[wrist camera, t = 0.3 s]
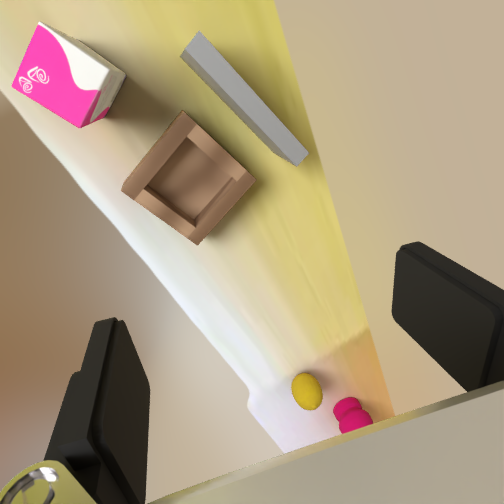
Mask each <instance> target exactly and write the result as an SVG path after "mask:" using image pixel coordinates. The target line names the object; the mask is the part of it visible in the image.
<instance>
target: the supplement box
mask: <svg viewBox="0 0 504 504" xmlns="http://www.w3.org/2000/svg"><path fill="white" fill-rule="evenodd" d="M125 78H126V74H125V73H124V72H122V71H121V70H119V69H118V68H117V67H115V66H114V65H113V64H111V63H110V62H108V61H107V60H106V59H104V58H103V57H101V56H100V55H99V54H97V53H96V52H94V51H93V50H92V49H90V48H89V47H87V46H86V45H85V44H83V43H82V42H80V41H79V40H77V39H75V38H73V37H70V36H68V35H67V34H65V33H62V32H60V31H58V30H56V29H54V28H52V27H51V26H49V25H47V24H44V23H42V22H39V23H38V26H37V28H36V30H35V32H34V34H33V37H32V39H31V42H30V44H29V46H28V48H27V51H26V53H25V56H24V58H23V60H22V63H21V65H20V67H19V70H18V72H17V74H16V77H15V79H14V81H13V84H12V87H13V88H14V89H16V90H17V91H19V92H21V93H22V94H24V95H26V96H27V97H29V98H31V99H32V100H34V101H36V102H37V103H39V104H40V105H42V106H44V107H45V108H47V109H49V110H50V111H52V112H53V113H55V114H57V115H58V116H60V117H62V118H63V119H65V120H66V121H68V122H70V123H71V124H73V125H75V126H76V127H78V128H82V127H84V126H86V125H89V124H91V123H93V122H95V121H97V120H99V119H102V118H104V117H105V116H106V114H107V112H108V110H109V109H110V107H111V105H112V103H113V101H114V99H115V97H116V95H117V94H118V92H119V90H120V88H121V86H122V84H123V82H124V80H125Z"/></svg>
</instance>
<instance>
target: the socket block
mask: <svg viewBox="0 0 504 504" xmlns="http://www.w3.org/2000/svg"><path fill="white" fill-rule="evenodd" d="M255 181H256V179H255V178H254V177H253V176H252V175H251V174H250V173H249V172H248V171H247V170H246V169H245V168H244V167H243V166H242V165H241V164H239V163H238V162H237V161H236V160H235V159H234V158H233V157H232V156H231V155H230V154H229V153H228V152H227V151H226V150H225V149H223V148H222V147H221V146H220V145H219V144H218V143H217V142H216V141H215V140H214V139H213V138H212V137H211V136H210V135H209V134H207V133H206V132H205V131H204V130H203V129H202V128H201V127H200V126H199V125H198V124H197V123H196V122H195V121H194V120H193V119H191V118H190V117H189V116H188V115H187V114H186V113H185V112H184V111H183V110H182V111H181V112H180V113H179V115H178V116H177V117H176V118H175V120H174V121H173V122H172V123H171V124H170V126H169V127H168V128H167V129H166V131H165V132H164V133H163V134H162V136H161V137H160V138H159V139H158V141H157V142H156V143H155V144H154V146H153V147H152V148H151V149H150V150H149V152H148V153H147V154H146V155H145V157H144V158H143V159H142V160H141V162H140V163H139V164H138V165H137V167H136V168H135V169H134V170H133V172H132V173H131V174H130V175H129V177H128V178H127V179H126V180H125V181H124V184H123V186H122V189H121V191H122V192H123V193H125V194H126V195H128V196H129V197H130V198H132V199H133V200H135V201H136V202H137V203H139V204H140V205H142V206H143V207H144V208H146V209H147V210H149V211H150V212H151V213H153V214H154V215H156V216H157V217H158V218H160V219H161V220H163V221H164V222H165V223H167V224H168V225H170V226H171V227H172V228H174V229H175V230H177V231H178V232H179V233H181V234H182V235H184V236H185V237H186V238H188V239H189V240H191V241H192V242H193V243H195V244H196V245H199V243H200V242H201V241H202V240H203V239H204V238H205V237H206V236H207V235H208V233H209V232H210V231H211V230H212V229H213V228H214V227H215V226H216V225H217V223H218V222H219V221H220V220H221V219H222V218H223V217H224V216H225V215H226V213H227V212H228V211H229V210H230V209H231V208H232V207H233V206H234V205H235V203H236V202H237V201H238V200H239V199H240V198H241V197H242V196H243V195H244V193H245V192H246V191H247V190H248V189H249V188H250V187H251V186H252V185H253V183H254V182H255Z"/></svg>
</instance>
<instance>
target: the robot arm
mask: <svg viewBox="0 0 504 504" xmlns="http://www.w3.org/2000/svg"><path fill="white" fill-rule="evenodd" d="M392 316H393V318H394V320H395V321H396V322H397V323H398V324H399V325H400V326H401V327H402V328H403V329H404V330H405V331H406V332H407V333H408V334H409V335H410V336H411V337H412V338H413V339H414V340H415V341H416V342H417V343H418V344H419V345H420V346H421V347H422V348H423V349H424V350H425V351H426V352H427V353H428V354H429V355H430V356H431V357H432V358H433V359H434V360H435V361H436V362H437V363H438V364H439V365H440V366H441V367H442V368H443V369H444V370H445V371H446V372H447V373H448V374H449V375H450V376H451V377H453V378H454V379H455V380H456V381H457V382H458V383H459V384H460V385H461V386H462V387H463V388H464V389H465V390H466V391H467V393H464V394H461V395H458V396H455V397H452V398H449V399H446V400H443V401H440V402H437V403H434V404H431V405H428V406H425V407H422V408H418V409H416V410H413V411H410V412H407V413H404V414H401V415H398V416H395V417H392V418H389V419H386V420H383V421H380V422H377V423H374V424H371V425H368V426H365V427H362V428H359V429H356V430H353V431H350V432H347V433H344V434H341V435H338V436H335V437H332V438H329V439H326V440H323V441H321V442H318V443H315V444H312V445H309V446H306V447H303V448H300V449H297V450H294V451H291V452H288V453H286V454H283V455H280V456H277V457H274V458H271V459H269V460H265V461H262V462H260V463H256V464H254V465H251V466H248V467H245V468H242V469H239V470H236V471H233V472H230V473H228V474H225V475H222V476H219V477H217V478H214V479H211V480H208V481H205V482H203V483H200V484H197V485H194V486H192V487H189V488H186V489H183V490H181V491H178V492H175V493H172V494H170V495H167V496H165V497H163V498H160V499H157V500H155V501H153V502H150V503H148V504H504V290H503V289H501V288H499V287H497V286H496V285H494V284H492V283H490V282H489V281H487V280H485V279H484V278H482V277H480V276H478V275H477V274H475V273H473V272H472V271H470V270H468V269H466V268H465V267H463V266H461V265H459V264H458V263H456V262H454V261H453V260H451V259H449V258H447V257H445V256H444V255H442V254H440V253H439V252H437V251H435V250H434V249H432V248H430V247H428V246H427V245H425V244H423V243H421V242H413V243H409V244H405V245H402V246H401V248H400V250H399V251H398V252H397V253H396V262H395V275H394V288H393V301H392ZM149 406H150V386H149V382H148V379H147V376H146V374H145V371H144V369H143V366H142V364H141V362H140V359H139V356H138V354H137V351H136V349H135V346H134V344H133V342H132V339H131V336H130V334H129V332H128V329H127V326H126V324H125V322H124V321H123V320H121V321H118V320H117V319H116V318H115V317H114V318H109V319H105V320H101V321H98V322H95V324H94V327H93V330H92V333H91V337H90V340H89V343H88V347H87V350H86V353H85V357H84V360H83V363H82V367H81V370H80V371H78V372H75V373H74V374H73V375H72V376H71V378H70V381H69V384H68V387H67V390H66V393H65V396H64V400H63V402H62V406H61V409H60V412H59V415H58V418H57V421H56V424H55V427H54V430H53V433H52V436H51V440H50V443H49V446H48V449H47V452H46V455H45V458H44V461H42V462H38V463H36V464H34V465H32V466H30V467H27V468H26V469H24V470H23V471H22V472H20V473H19V474H17V475H16V476H15V477H14V478H13V479H12V480H11V481H10V482H9V483H8V484H7V485H6V486H5V487H4V488H3V489H2V491H1V492H0V504H145V497H146V475H147V452H148V429H149Z"/></svg>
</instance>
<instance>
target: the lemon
mask: <svg viewBox="0 0 504 504" xmlns="http://www.w3.org/2000/svg"><path fill="white" fill-rule="evenodd" d="M291 389H292V394H293V397H294V399H295V400H296V402H297V403H298V405H299V406H300V407H302V408H303V409H305V410H315V409H316V408H318V407H319V406H320V404H321V402H322V399H323V394H322V389H321V387H320V384H319V382H318V381H317V380H316V378H315V377H314V376H312V375H310V374H307V373H301V374H298V375H297V376H296V377H295V378H294V379H293V382H292V386H291Z"/></svg>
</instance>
